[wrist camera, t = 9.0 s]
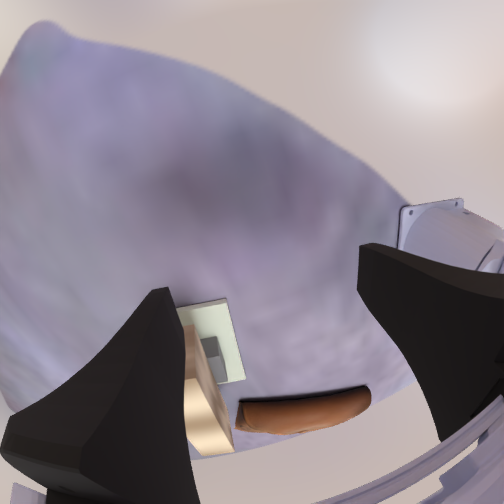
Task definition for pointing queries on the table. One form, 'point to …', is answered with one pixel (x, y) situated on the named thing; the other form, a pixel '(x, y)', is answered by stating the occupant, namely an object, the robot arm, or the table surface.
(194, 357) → the beige piece
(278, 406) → the sunglasses case
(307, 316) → the table surface
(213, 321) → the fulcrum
